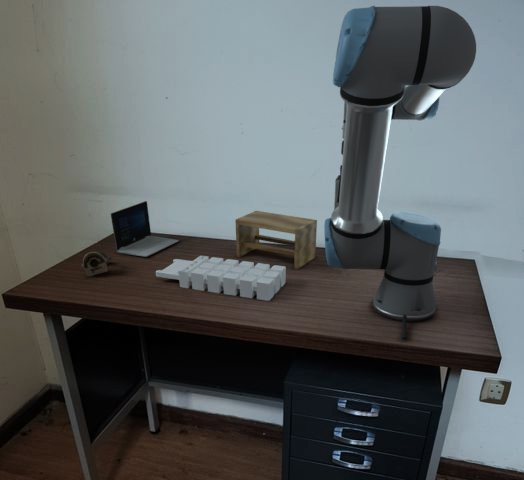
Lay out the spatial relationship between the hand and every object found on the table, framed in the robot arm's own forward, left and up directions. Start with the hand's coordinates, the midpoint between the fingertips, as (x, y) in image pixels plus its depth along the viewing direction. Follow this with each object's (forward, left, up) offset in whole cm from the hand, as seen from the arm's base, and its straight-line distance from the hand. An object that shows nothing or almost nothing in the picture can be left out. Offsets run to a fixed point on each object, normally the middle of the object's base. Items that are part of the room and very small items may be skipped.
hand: (349, 222), depth 148 cm
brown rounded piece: (-44, +61, -13) cm, 76 cm away
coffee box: (0, 0, -3) cm, 3 cm away
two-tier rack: (-7, +21, -12) cm, 26 cm away
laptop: (-21, +63, -13) cm, 68 cm away
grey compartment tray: (-34, +24, -13) cm, 43 cm away
